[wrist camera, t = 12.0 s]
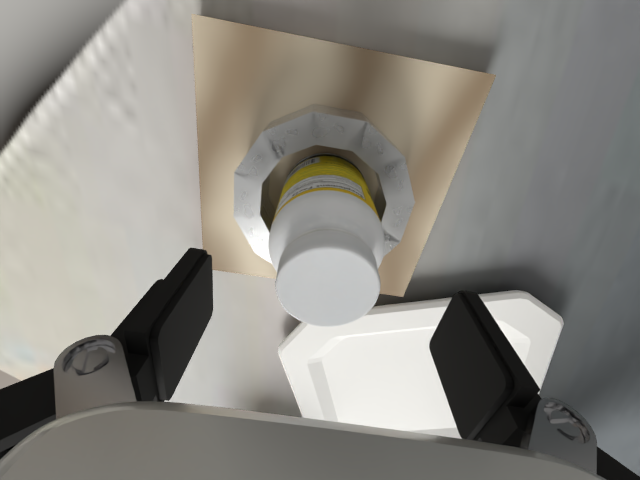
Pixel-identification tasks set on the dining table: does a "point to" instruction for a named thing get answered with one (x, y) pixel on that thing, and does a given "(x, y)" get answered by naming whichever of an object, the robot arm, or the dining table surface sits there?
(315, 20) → the dining table surface
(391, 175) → the steel ring collar
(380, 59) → the fitting board
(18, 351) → the dining table surface
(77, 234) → the dining table surface
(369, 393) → the plate
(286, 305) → the supplement bottle
